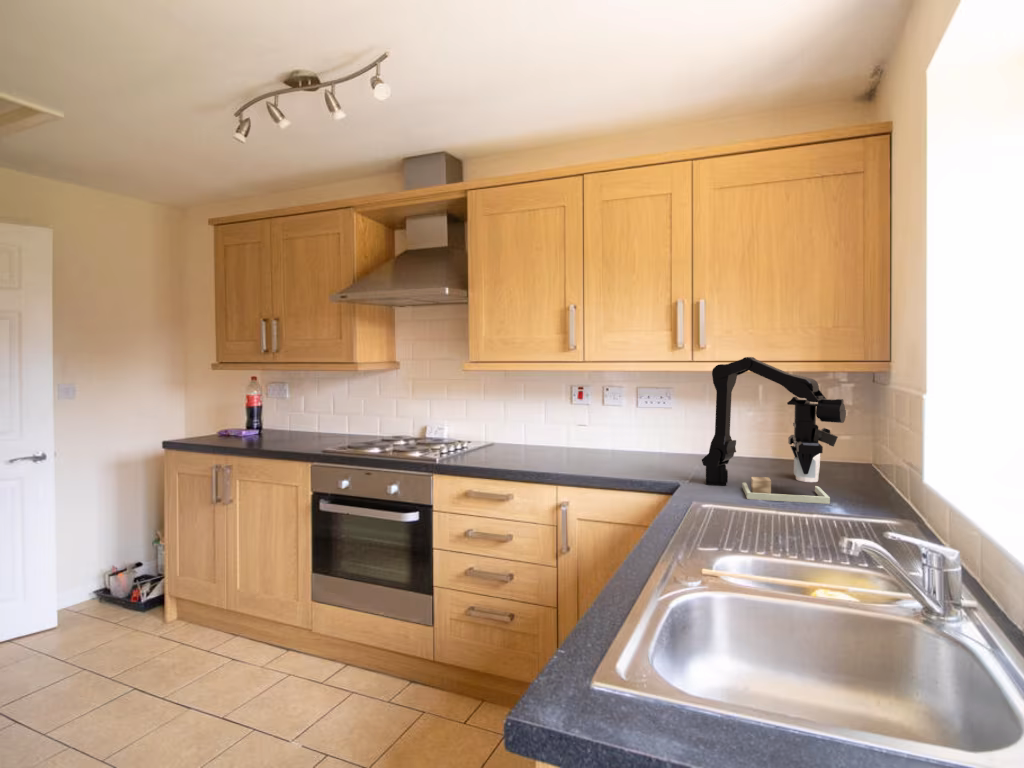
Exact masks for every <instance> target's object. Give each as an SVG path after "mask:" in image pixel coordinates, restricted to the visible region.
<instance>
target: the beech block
mask: <svg viewBox="0 0 1024 768" xmlns="http://www.w3.org/2000/svg"><path fill="white" fill-rule="evenodd" d="M750 479H751V484H750V485H751V487H750V489H751V490H750V492H751V493H769V494H772V480H771V479H770V477H765V476H764V477H763V476H762V477H761V476H751V478H750Z"/></svg>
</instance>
